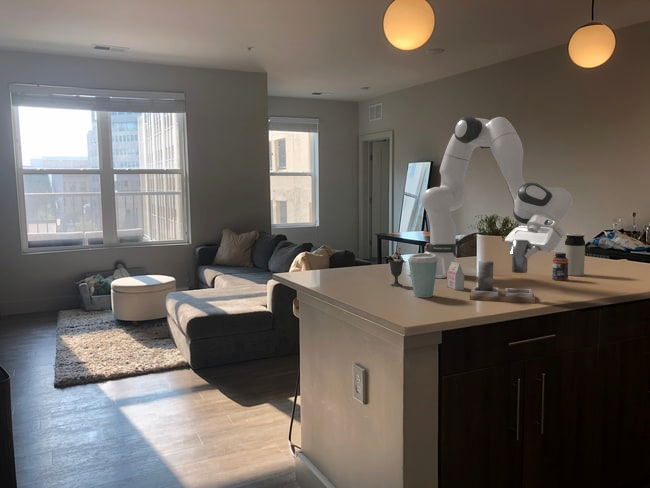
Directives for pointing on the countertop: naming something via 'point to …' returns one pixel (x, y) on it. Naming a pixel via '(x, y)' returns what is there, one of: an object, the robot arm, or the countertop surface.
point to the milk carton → (455, 277)
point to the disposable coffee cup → (423, 273)
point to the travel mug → (575, 253)
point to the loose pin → (519, 256)
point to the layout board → (493, 294)
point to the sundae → (396, 266)
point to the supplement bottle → (560, 267)
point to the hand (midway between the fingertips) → (518, 256)
